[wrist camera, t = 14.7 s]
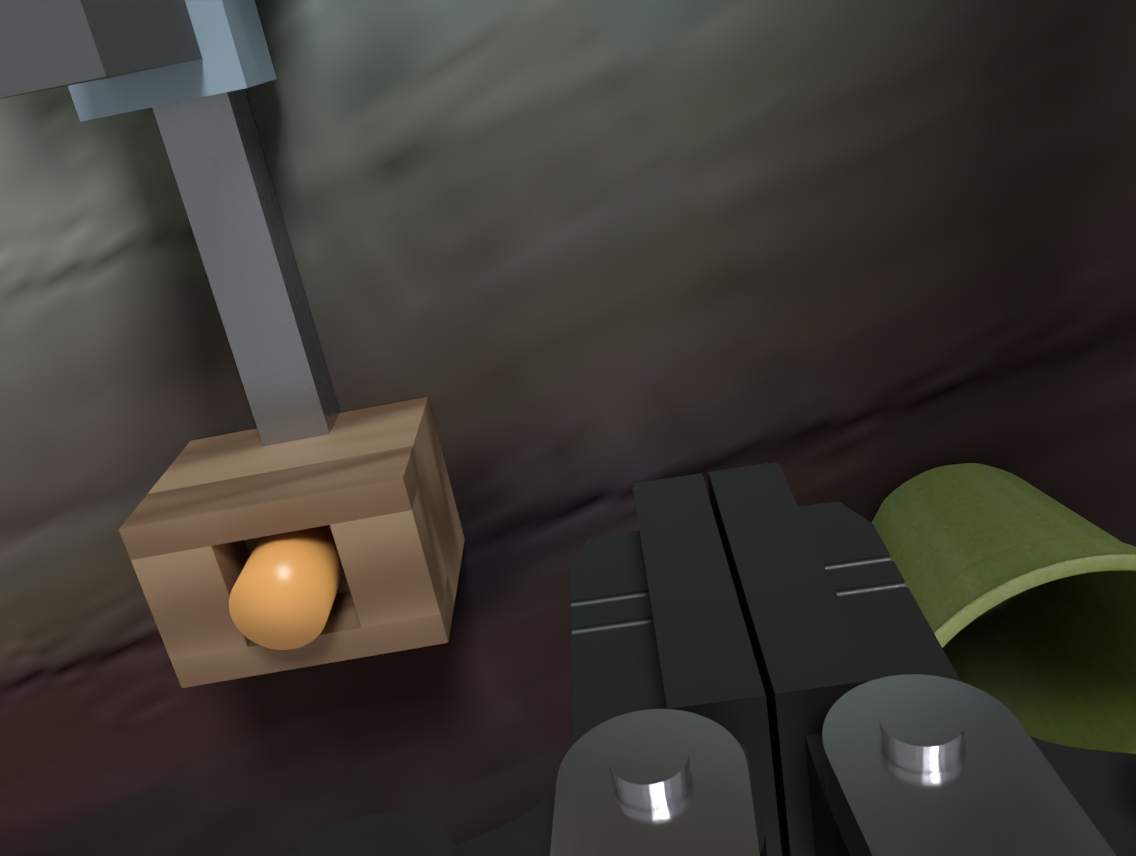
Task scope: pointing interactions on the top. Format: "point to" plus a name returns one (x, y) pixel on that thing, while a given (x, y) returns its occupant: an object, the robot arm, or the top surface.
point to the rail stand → (285, 446)
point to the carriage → (131, 51)
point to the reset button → (287, 588)
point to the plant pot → (1022, 599)
